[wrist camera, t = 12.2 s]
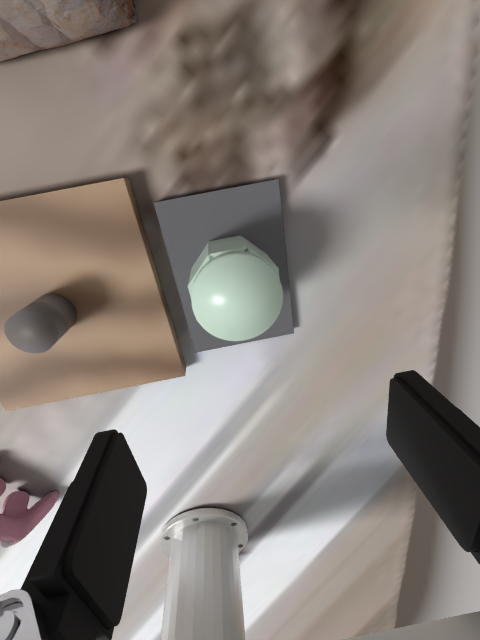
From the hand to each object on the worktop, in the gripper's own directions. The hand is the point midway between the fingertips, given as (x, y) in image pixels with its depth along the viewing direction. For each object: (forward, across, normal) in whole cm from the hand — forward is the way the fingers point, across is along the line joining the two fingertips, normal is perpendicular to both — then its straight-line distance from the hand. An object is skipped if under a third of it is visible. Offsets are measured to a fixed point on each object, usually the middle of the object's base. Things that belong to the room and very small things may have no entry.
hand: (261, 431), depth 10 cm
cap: (+18, 0, -1) cm, 18 cm away
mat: (+18, 0, -1) cm, 18 cm away
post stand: (+18, +15, 0) cm, 24 cm away
